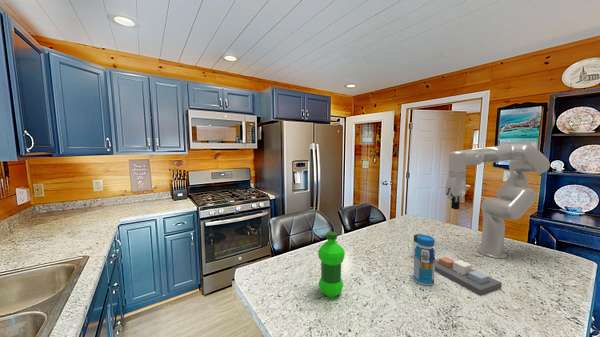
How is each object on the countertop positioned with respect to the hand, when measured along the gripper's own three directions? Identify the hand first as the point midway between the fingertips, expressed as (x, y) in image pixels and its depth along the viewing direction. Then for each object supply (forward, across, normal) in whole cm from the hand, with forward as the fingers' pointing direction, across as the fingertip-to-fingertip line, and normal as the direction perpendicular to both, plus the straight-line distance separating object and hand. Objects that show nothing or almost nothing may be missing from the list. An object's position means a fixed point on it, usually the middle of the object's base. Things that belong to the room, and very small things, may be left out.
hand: (455, 208), depth 123 cm
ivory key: (+24, +15, +15) cm, 32 cm away
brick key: (+26, +15, +8) cm, 31 cm away
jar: (+27, +17, -5) cm, 32 cm away
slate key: (+26, +15, +22) cm, 37 cm away
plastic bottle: (+26, +77, +3) cm, 82 cm away
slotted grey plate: (+27, +15, +15) cm, 34 cm away
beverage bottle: (+27, +34, +11) cm, 45 cm away
